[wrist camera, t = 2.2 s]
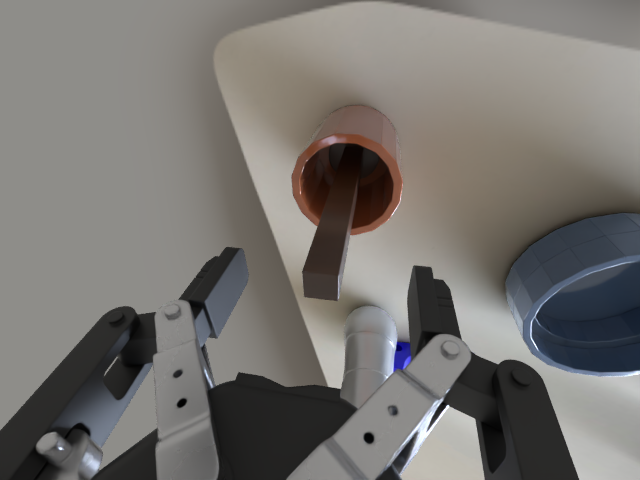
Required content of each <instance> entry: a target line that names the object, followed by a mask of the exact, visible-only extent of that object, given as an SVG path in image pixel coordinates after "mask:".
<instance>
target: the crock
mask: <svg viewBox="0 0 640 480" xmlns="http://www.w3.org/2000/svg"><path fill="white" fill-rule="evenodd" d="M335 143H354V144H359V145H361V146H363V147H365V148H367V149H370V150H372V151H374V152H376V154H377V155H378V156H379V157H380V159H379V163H378V165H377V167H376V169H375V170H374V171H373V172H372V173H371V174H370V175H369V176H367V177H365V178H362V179H360V183H359V188H358V194H357V200H356V205H355V211H354V216H353V222H352V228H351V233H350V235H357V234H361V233H365V232H369V231H373V230H375V229H376V228H377V227H379V226H380V225H382V224H383V223H385V222H386V221H388V220H389V219H390V218H391V216H392V214H393V213H394V211H395V210H396V208H397V207H398V205H399V204H400V201H401V194H402V187H403V176H402V165H401V153H400V144H399V140H398V136H397V133H396V130H395V128H394V126H393V124H392V123H391V122H390V120H389V119H388V118H387V117H386V116H385V115H383V114H382V113H381V112H379V111H377V110H376V109H373V108H371V107H368V106H363V105H351V106H345V107H343V108H340V109H338V110H336V111H334V112H332V113H331V114H330V115H329V116H327V117H326V118H325V119H324V121H323V122H322V123H321V124H320V125H319V126H318V128H317V129H316V131H315V132H314V134H313V136H312V137H311V139H310V140H309V142H308V143H307V145H306V146H305V148H304V149H303V151H302V152H301V154H300V156H299V157H298V159H297V162H296V165H295V168H294V170H293V173H292V188H293V196H294V198H295V200H296V202H297V204H298V206H299V208H300V210H301V212H302V213H303V214H304V215H305V216H306V217H307V218H308V219H309V220H310V221H311V222H313V223H314V224H315V225H316V226H318V224H319V221H320V218H321V215H322V212H323V209H324V206H325V204H326V201H327V198H328V195H329V192H330V189H331V186H332V183H333V180H334V177H335V174H336V172H335V171H334V169H333V168H332V166H331V164H330V161H329V148H330V145H333V144H335Z"/></svg>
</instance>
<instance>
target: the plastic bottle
mask: <svg viewBox="0 0 640 480" xmlns="http://www.w3.org/2000/svg"><path fill="white" fill-rule="evenodd" d="M397 337H398V335H397V329H396V325H395V322H394V320H393V319H392V317H391V316H390V315H389V314H388V313H387V312H386V311H384V310H383V309H381V308H378V307H374V306H362V307H359V308H357V309H355V310H354V311H353V312H351V313H350V314H349V316H348V318H347V321H346V323H345V326H344V343H345V370H344V376H343V382H342V387H341V398H343V399H345V400H347V401H348V402H350V403H352V404H353V405H354V406H355V407H357V408H358V409H359V408H360V407H361V406H362V404H363V403H364V402H365V401H366V400H367V399H368V398H369V397H370V396H371V395H372V394H373V393H374V392H375V391H376V390H377V389H378V388H379V387H380V386H381V385H382V384H383V383H384V381H385V380H386V379H387V378H388V377H389V376H390V375H391V374H392V373H393V368H394V354H395V350H396V345H397Z"/></svg>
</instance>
